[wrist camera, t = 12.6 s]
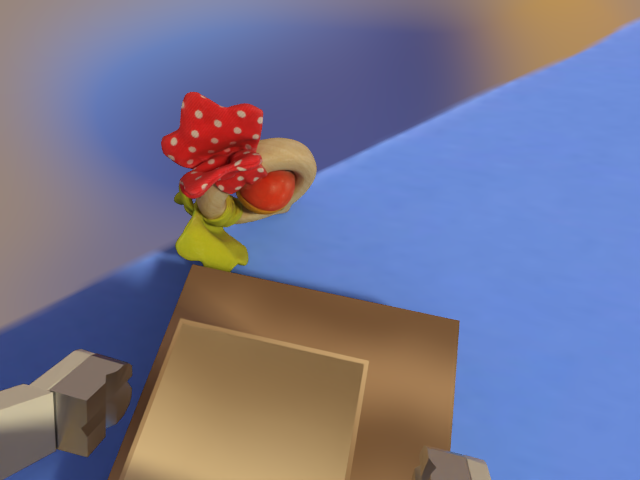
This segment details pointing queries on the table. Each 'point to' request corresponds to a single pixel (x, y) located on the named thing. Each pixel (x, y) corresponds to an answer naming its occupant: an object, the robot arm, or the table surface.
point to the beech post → (248, 410)
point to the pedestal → (342, 338)
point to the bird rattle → (231, 176)
